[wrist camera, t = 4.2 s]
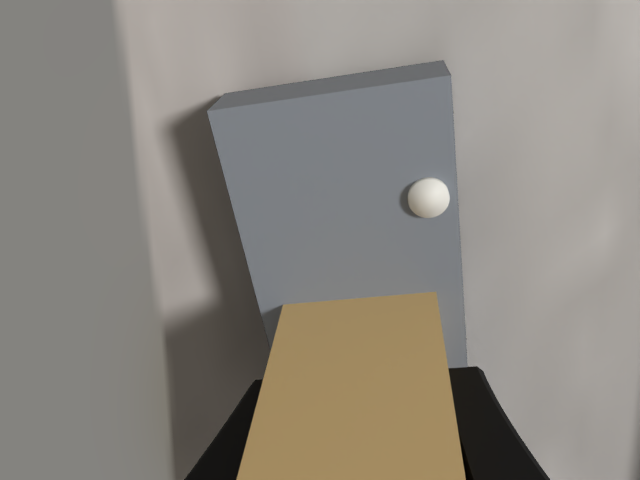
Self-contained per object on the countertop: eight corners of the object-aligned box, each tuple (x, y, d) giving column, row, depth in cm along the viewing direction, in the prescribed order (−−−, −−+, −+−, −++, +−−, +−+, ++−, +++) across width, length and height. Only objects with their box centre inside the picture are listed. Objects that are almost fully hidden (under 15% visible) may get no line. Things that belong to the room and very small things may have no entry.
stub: (443, 60, 10) (523, 217, 4) (470, 507, 15) (522, 825, 10) (224, 93, 10) (50, 267, 5) (327, 510, 16) (300, 809, 10)
